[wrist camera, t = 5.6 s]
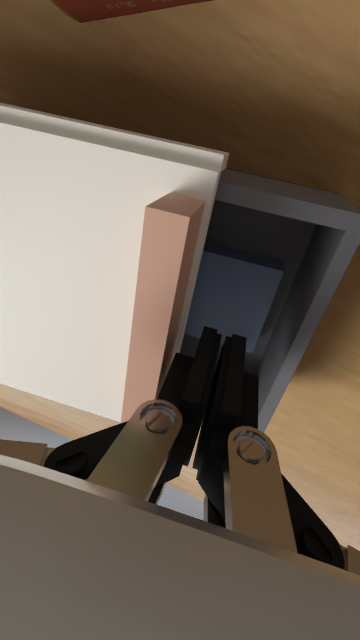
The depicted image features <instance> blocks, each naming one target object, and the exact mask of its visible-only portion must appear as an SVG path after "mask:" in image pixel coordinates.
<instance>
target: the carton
mask: <svg viewBox="0 0 360 640" xmlns="http://www.w3.org/2000/svg"><path fill="white" fill-rule="evenodd" d="M49 1H50V2H52V3H53V4H55V5H56V6H57V7H58V8H59V9H60V10H61V11H62V12H64V13H65V14H66V15H68V16H69V17H71V18H73V19H74V20H76V21H78V22H80V23H82V22H88V21H93V20H99V19H105V18H111V17H118V16H124V15H130V14H136V13H142V12H147V11H153V10H158V9H164V8H170V7H175V6H180V5H185V4H192V3H199V2H206V1H212V0H49Z"/></svg>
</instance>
